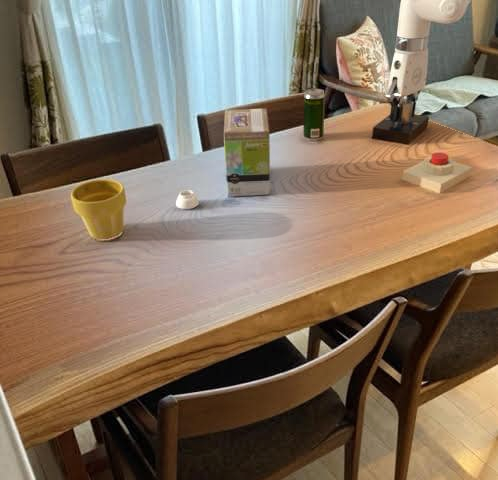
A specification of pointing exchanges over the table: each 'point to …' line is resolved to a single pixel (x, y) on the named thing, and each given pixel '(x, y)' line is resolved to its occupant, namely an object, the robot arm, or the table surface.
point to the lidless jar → (187, 200)
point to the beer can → (314, 114)
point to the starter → (436, 174)
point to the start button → (439, 159)
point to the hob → (400, 130)
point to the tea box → (247, 152)
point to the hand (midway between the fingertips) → (401, 118)
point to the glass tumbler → (406, 112)
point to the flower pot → (100, 207)
